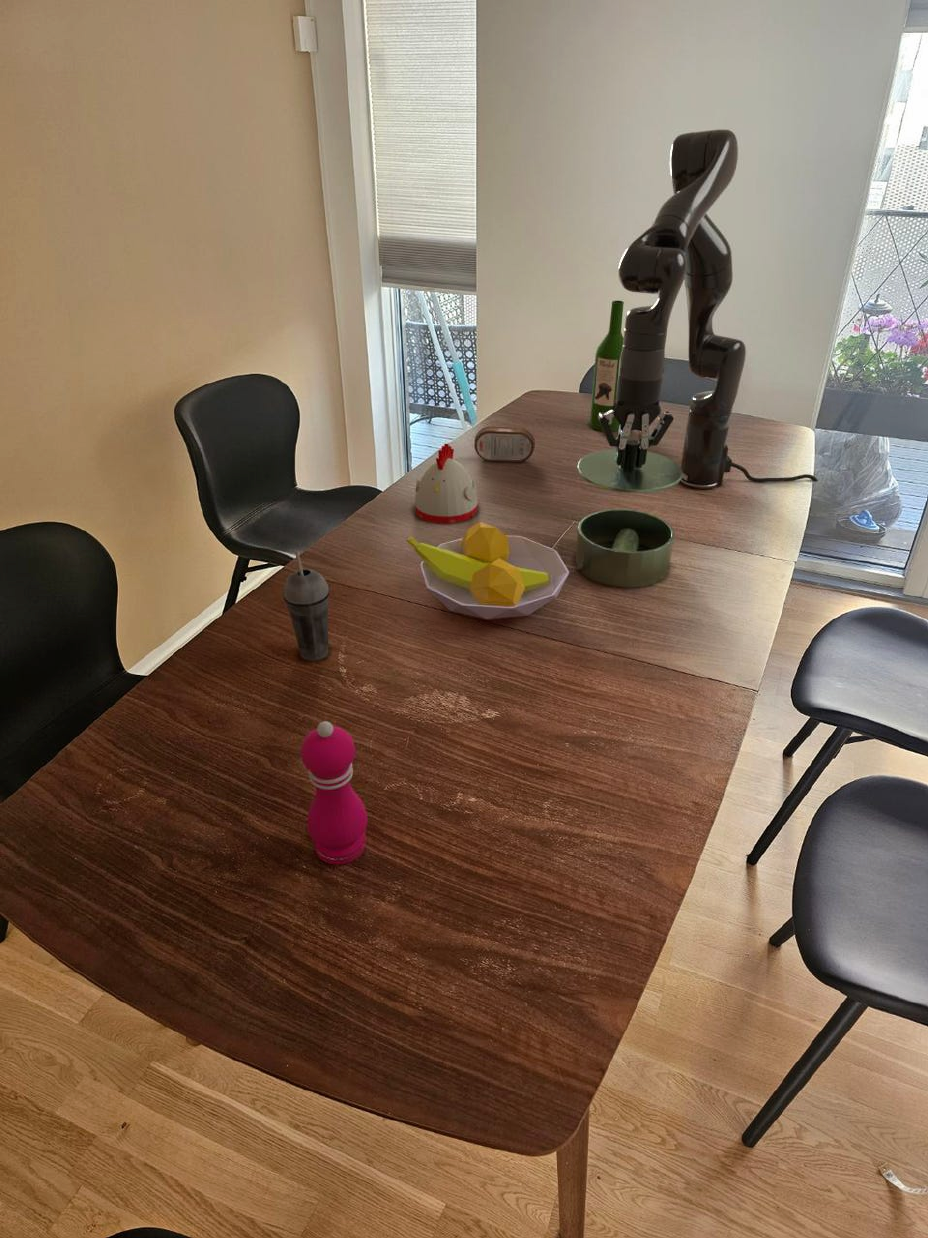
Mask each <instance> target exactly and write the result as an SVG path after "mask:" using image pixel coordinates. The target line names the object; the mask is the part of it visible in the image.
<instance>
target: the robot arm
mask: <svg viewBox="0 0 928 1238" xmlns="http://www.w3.org/2000/svg"><path fill="white" fill-rule="evenodd" d="M738 160H739V146H738V138H737V136H736V134H735V132H734V131H732V130H730V129H712V130H702V131H693V132H686V133H681V134H678V135H677V136H676V137H675V139H674V140H673V142H672V144H671V147H670V153H669V171H670V179H671V185H672V191H673V195H671V197H669V198H668V199H667V200H666V201H665V202H664V203H663V204H662V206H661V207H660V208H659V210H658V211H657V213H656V215H655V217H654V219H653V221H652V223H651V225H650V226H649V228H647V229H646V230H645V231H644V232H643V233H642V234H641V235H640V236H638V237H637V238H636V239H634V241H632V243H630V245H629V246H628V247H627V249H626V250H625V251H624V253H623V255H622V257H621V259H620V262H619V265H618V279H619V283H620V285H621V286H622V287H623V288H624V289H625V290H626V291H628V292H631V293H639V294H651V295H657V296H658V297H657V300H656V302H655V303H654V304H651V305H645V306H643V305H642V306H637V307H633V308H631V309H629V310H628V311H627V314H626V316H625V319H624V321H625V323H624V329H623V331H624V332H623V338H624V339H623V347H622V352H621V356H620V363H619V373H618V383H617V392H616V401H615V404H614V405H613V407H612V410H610V411H608V412H606V413H602V412H601V413H599V414H598V418H599V421H600V423H601V426H602V428H603V431H602V432H603V433H604V436H605V438H606V440H607V443H608V445H609V447H611V448H612V447H614V448H615V449H616V458H615V460H616V463H617V465H619V467H620V468H624V465H625V456H626V449H625V446H626V443H627V440H629V437H630V435H631V432H632V431H637V432H638V441H639V442H640V446H639V454H638V462H637V468H642V465H644V464H645V462H646V455H647V452H648V449H649V448H650V447H652V446H658V445H659V444H660V442H661V441H662V439H663V437H664V436H665V434H666V433H667V431H668V429H669V428H670V426H671V425H672V423H673V421H674V420H675V419H674V416H673V415H672V414H671V412H670V411H665V410H663V409H662V408H661V404H660V399H661V392H662V391H661V390H662V384H663V377H664V373H665V361H666V358H665V357H666V353H665V352H666V342H667V334H668V327H669V321H670V318H671V313H672V312H673V311H672V310H673V308H674V305H675V302H676V300H677V297H678V295H679V292H680V290H681V288H682V286H683V283H684V287H685V295H686V304H687V321H688V348H687V349H688V365H689V370H690V372H691V373H692V374H693V375H694V376H695V377H697V378H700V379H704V380H709V381H713V382H715V386H714V389H713V390H707V391H702V392H698V393H695V394H694V395H693V396H692V397H691V399H690V403H689V411H688V416H687V421H686V423H687V424H686V429H685V436H684V441H683V449H682V454H681V462H680V468H681V470H682V478H681V480H680V481H679V482H678V483H680V484H681V485H683V486H686V487H688V488H693V489H699V490H709V489H714V488H717V487H722V485H723V480H724V474H726V473H731V469H732V468H735V469H737V470H739V471H741V472H742V473H743V474H744V476H745V478H746V479H748V480H749V481H752V482H754V483H768V482H770V483H771V482H774V483H776V482H777V483H779V482H793V481H799V480H803V479H809V480H811V481H812V482H816V483H817V482H819V480H818V479H817V477H816V476H815V475H812V474H809V473H804V474H800V475H795V476H791V477H790V476H789V477H788V476H787V477H754V476H752V475H750V473H749V471H748V470H747V469H746V468H745V467H743V466H742V465H740V464H737V463H735V462H733V460H732V458H730V456H729V455H728V453H729V446H728V445H727V440H728V435H729V430H730V423H731V419H732V413H733V408H734V405H735V402H736V399H737V397H738V392H739V387H740V383H741V377H742V375H743V371H744V366H745V362H746V356H747V355H746V354H747V353H746V352H747V347H746V344H745V343H744V341H742V340H740V339H738V338H732V337H729V336H723V335H718V334H715V332H714V328H713V327H714V326H713V320H714V319H713V318H714V315H715V313H716V311H717V310H718V308H719V307H720V305H721V304H722V303H723V301H724V300H725V299H726V297H727V296H728V293H729V291H730V289H731V287H732V284H733V277H734V276H733V257H732V248H731V246H730V244H729V241H728V240H727V238H726V236H725V235H724V234H723V233H722V231H721V230H720V229H719V227H718V226H717V225H716V224H715V222H714V221H713V220H712V219H711V218H710V216H709V215H708V214H707V213H708V212H709V210H710V209H711V208H712V207H713V206H714V205H715V203H716V202H717V201H718V199H719V198H720V197H721V195H722V194H723V193H724V192H725V191H726V189H727V188H728V186H729V185H730V184H731V182H732V180H733V178H734V176H735V173H736V171H737V166H738ZM614 416H615V418H616V419H617V421H618V422H619V424H620V426H619V430H618V434H617V437H615V436H614V434H613V431H611V428H610V426H609V425H610V424H611V423H612V418H613V417H614ZM656 419H657V423H656V426H655V427H654V428H653V430H652V431H651V433H650V426H651V425H652V424H653V423H654V421H656Z"/></svg>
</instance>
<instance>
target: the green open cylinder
mask: <svg viewBox="0 0 928 1238" xmlns="http://www.w3.org/2000/svg"><path fill="white" fill-rule="evenodd" d="M623 529H632V530H634V531H635V532H636V533H637V535H638V538H639V545H641V546H644V547H647V548H649V549H647V550H641V551H639V550H637V552H628V551H618V550H613V549H611V548H608V547H604V546H602V545H600V544H599V543H605V542H614V540H615V538H616V536H617V534H618V533H619V532H620V531H621V530H623ZM674 539H675V531H674V529H673V527H672V525H670V524H669V523H668V522H667V521H666V520H664V519H662V517H661V518H660V517H659V516H657V515H654V514H651V513H649V512H645V511H642V510H641V511H640V510H635V509H627V508H626V509H625V508H612V509H603V510H598V511H597V512H592V513H590V514H588V515H586V516H585V517H583V518H582V519H581V520H580V522H579V523H578V527H577V539H576V549H575V562H576V565H577V567H578V568H579V569H578V570H579V572H580V573H581V574H582V575H584V576H585V577H586V578H588V579H590V580H591V581H593V582H596V583H598V584H601V585H606V586H609V587H615V588H625V589H626V588H627V589H628V588H629V589H635V588H643V587H648V586H651V585H652V586H653V585H655V584H657V583H659V582H661V581H662V580H664V579H665V577H667V575H668V573H669V570H670V566H671V559H672V553H673V547H674V541H675V540H674Z"/></svg>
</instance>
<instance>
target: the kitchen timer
mask: <svg viewBox="0 0 928 1238" xmlns="http://www.w3.org/2000/svg"><path fill="white" fill-rule="evenodd" d="M454 452H455V449H454V448H452V445H450V444H449V443H444V444H443V445H441V449H439V450H438V452H437V454H438V458H437V457H436V458H435V461H434V462H432V463H430V465H428V467H427V468H426V470H425V471H424V472H423V474H422V475H421V478H420V479H419V478H417V479H416V481H415V482H416V484H415V490H414V491H415V496H414V497H415V498H414V512H415V514H416V515H417V517H418V518H421V519H422V520H424V521H426V522H429V523H434V524H435V523H436V524H456V523H457V524H458V523H461V522H465V521H467V520H469V519H471V518H473V515H474V514H475V513H476V512H477V510H478V506H479V505H478V504H479V503H478V496H477V486H476V480H475V479H473V480H472V477H471V476H470V474H469V473H468V471H467V470H466V468H464V466H463V465H462V464H461V463H459V461H457V460H455V459H454Z"/></svg>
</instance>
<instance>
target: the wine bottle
mask: <svg viewBox="0 0 928 1238" xmlns="http://www.w3.org/2000/svg"><path fill="white" fill-rule="evenodd" d="M624 304H625V303H624V301H623V300H612V301H611V307H610V316H609V326H608V332H607V334H606V335H605V337H604V338H603V340H602V341H601V343H600V344H599V346H598V347H597V348H596V352H595V355H594V356H595V357H594V369H593V379H592V380H593V381H592V392H591V405H590V414H589V415H590V416H589V426H590V428H591V429H593V430H596V431H599V432H600V431H601V432H604V431H603V428H602V426H601V423H600V421H599V418H598V414H599V413H601V412H602V413H606V412H608V411H610V410H612V407H613V405H614V404H615V401H616V392H617V383H618V373H619V363H620V356H621V352H622V347H623V339H624V335H623V333H622V326H623V314H624ZM609 426H610V428H611V431H612V432H616V431H619V426H620V424H619V422H618V421H617V419H616V418H615V416H614V417H613V418H612V423H611V424H610V425H609Z"/></svg>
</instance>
